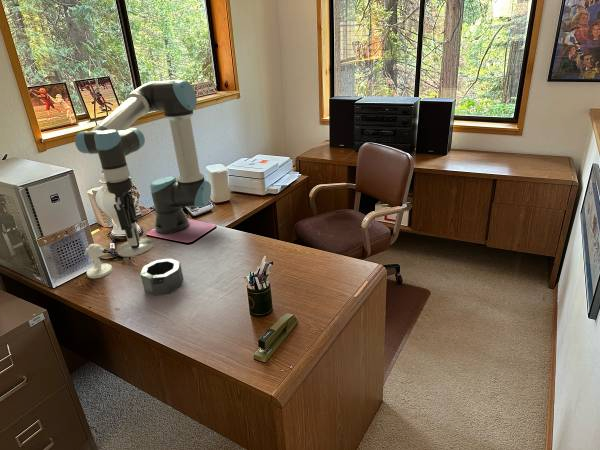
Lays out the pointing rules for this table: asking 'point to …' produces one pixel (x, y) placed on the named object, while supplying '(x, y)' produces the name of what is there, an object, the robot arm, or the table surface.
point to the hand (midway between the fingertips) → (134, 242)
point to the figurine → (97, 262)
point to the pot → (162, 277)
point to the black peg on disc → (135, 247)
